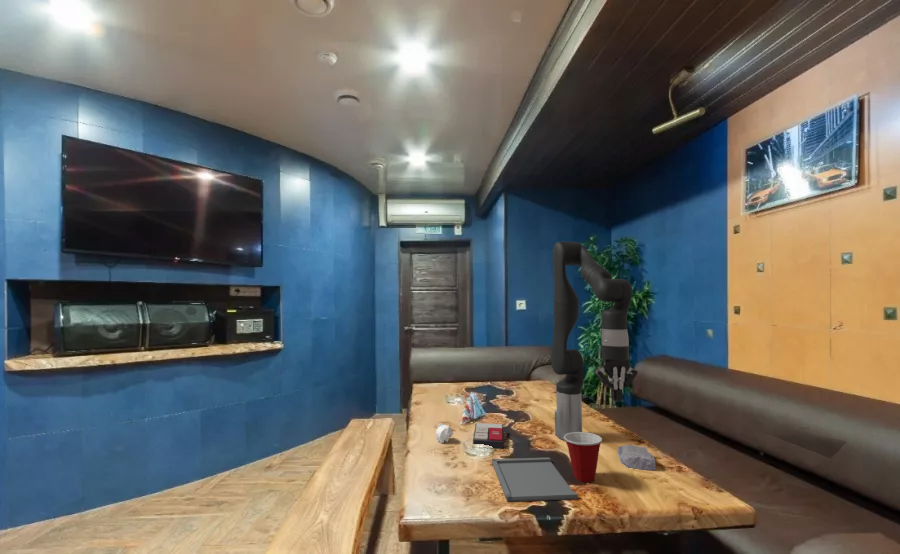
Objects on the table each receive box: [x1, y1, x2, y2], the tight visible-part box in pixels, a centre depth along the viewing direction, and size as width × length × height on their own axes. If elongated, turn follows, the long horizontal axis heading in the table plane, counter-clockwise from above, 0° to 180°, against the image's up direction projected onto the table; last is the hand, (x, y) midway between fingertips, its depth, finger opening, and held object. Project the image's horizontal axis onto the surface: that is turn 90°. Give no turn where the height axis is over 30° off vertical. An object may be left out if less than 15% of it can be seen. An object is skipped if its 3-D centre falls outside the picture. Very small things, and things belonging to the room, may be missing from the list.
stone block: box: [616, 444, 657, 471], centre depth 116 cm, size 12×5×10 cm
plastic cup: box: [564, 431, 603, 483], centre depth 106 cm, size 11×11×12 cm
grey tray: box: [491, 457, 579, 503], centre depth 105 cm, size 19×22×1 cm
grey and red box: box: [472, 422, 505, 450], centre depth 134 cm, size 11×4×15 cm
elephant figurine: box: [434, 422, 454, 444], centre depth 133 cm, size 7×8×6 cm
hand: (616, 401), depth 108 cm, fingers closed
